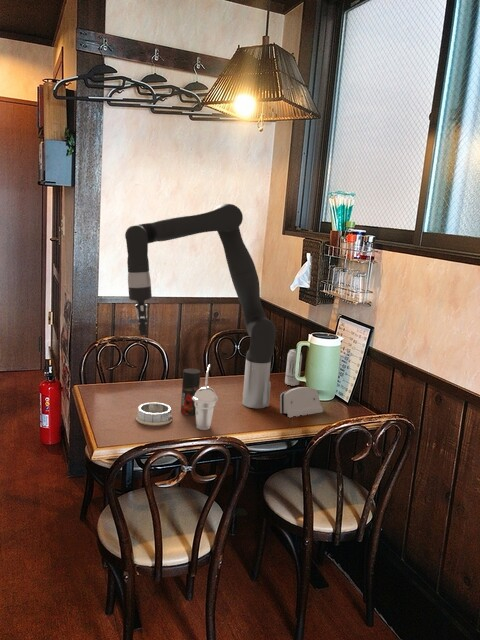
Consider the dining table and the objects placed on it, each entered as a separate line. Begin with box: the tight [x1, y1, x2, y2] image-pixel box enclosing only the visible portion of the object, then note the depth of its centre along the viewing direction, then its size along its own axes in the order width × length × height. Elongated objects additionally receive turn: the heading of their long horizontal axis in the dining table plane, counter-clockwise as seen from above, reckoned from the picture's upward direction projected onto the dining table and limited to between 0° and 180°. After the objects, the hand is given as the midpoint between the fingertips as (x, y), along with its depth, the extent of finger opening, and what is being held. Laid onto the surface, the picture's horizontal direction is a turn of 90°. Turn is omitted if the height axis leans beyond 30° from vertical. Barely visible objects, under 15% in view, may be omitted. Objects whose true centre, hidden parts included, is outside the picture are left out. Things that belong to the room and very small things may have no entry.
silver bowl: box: [135, 401, 173, 427], centre depth 181 cm, size 12×12×4 cm
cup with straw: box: [192, 364, 219, 431], centre depth 176 cm, size 8×9×20 cm
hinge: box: [279, 386, 324, 418], centre depth 199 cm, size 17×5×10 cm, turn 122°
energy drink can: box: [284, 348, 303, 386], centre depth 228 cm, size 6×6×15 cm
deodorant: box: [180, 367, 201, 416], centre depth 188 cm, size 6×6×15 cm
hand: (142, 332), depth 185 cm, fingers open, 8 cm apart
